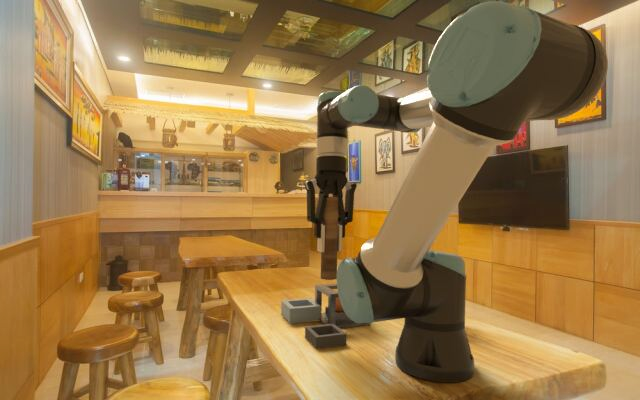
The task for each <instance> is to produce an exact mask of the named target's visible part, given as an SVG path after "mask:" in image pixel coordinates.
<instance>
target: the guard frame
mask: <svg viewBox="0 0 640 400" xmlns="http://www.w3.org/2000/svg"><path fill="white" fill-rule="evenodd" d="M314 288H315V289H314V301H315V303H317V304H319V305H320V306H321V318H319V321H318V322H320V323H321V325H326V324H335V325H336V326H337V327H338V328H340V329H345V328H346V329H347V328H353V327H362V326H363V327H364V326H371V323H368V322H367V323H355V322H354V321H352V320H350V319H349V318H348V317H347V315H346V314H345V312H336V298H338V297H339V296H338V290H337V283H327V284H326V283H325V284H315V285H314ZM335 290H336V291H335ZM323 294H324V295H325V296H327V301H328V302H327V306H325V308H324V309H325V312H322V310H323V309H322V306H323V305H322V303H323V302H322V300H323V296H322V295H323Z"/></svg>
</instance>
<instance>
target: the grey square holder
mask: <svg viewBox="0 0 640 400" xmlns="http://www.w3.org/2000/svg"><path fill="white" fill-rule="evenodd" d="M280 309H281V310H280V314H281V316H283V318H284V319H285V321H286V322H288V324H300V323H308V322H320V321H319V318H321V313H322V311H321V306H320V305H319V304H317V303H315V300H313V299H312V298H311V297H309V298H296V299H282V300H281V306H280Z"/></svg>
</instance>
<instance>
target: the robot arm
mask: <svg viewBox="0 0 640 400" xmlns="http://www.w3.org/2000/svg"><path fill="white" fill-rule="evenodd" d="M608 70H609V61H608V54H607V51H606V48H605V47H604V45H603V43H602V41H601V40H600V39H599V38H598V37H597V36H596V35H595V34H594V33H592V32H591V31H589V30H588V29H586V28H584V27H581V26H578V25H575V24H571V23H568V22H567V21H566V22H565V21H562V20H559V19H557V18H554V17H553V16H549V15H547V14H545V13H541V12H539V11H536V10H534V9H532V8H530V7H527V6H526V5H518V4H513V3H509V2H504V1H498V0H497V1H496V0H490V1H485V2H481V3H478V4H475V5H473V6H472V7H470V8H468V10H467V11H466V12H462V13H460V14H459V15H458V16H456V18H454V19H453V21H451V22H450V23H449V24H448V26H447V27H446V28H445V29H444V30H443V32H442V34H441V35H440V36H439V37H438V39H437V41H436V43H435V45H434V46H433V49H432V51H431V54H430V57H429V60H428V65H427V71H429V74H427V76H426V84H427V87H428V90H424V91H420V92H416V93H413V94H410V95H406V96H402V97H401V96H400V97H396V96H395V97H394V96H391V95H390V96H389V95H384V94H377V93H376V92H375V90H374V89H372V88H370V87H369V85H366V84H365V85H363V84H359V85H355V86H353V87H351V88H348V89H346V90H344V91H343V92H342V91H337V90H329V91H327V92H325V91H324V92H322V93H320V94H319V96H318V100H317V107H316V113H317V115H316V116H317V121H316V123H317V125H316V128H317V129H316V130H317V131H316V155H317V157H316V162H315V163H316V164H315V173H316V174H315V175H314V179H311V180H306V181H304V182H303V183H304V185H303V186H304V188H305V190H306V220H307V222H309V223H312V224H313V225H314V229H313V230H314V232H313V233H314V234H313V236H314V238H315V239H317V240H316V242H317V246H316V248H317V249H316V251H317V252H319V253H321V252H324V248H325V225H322V221H323V216H324V212H325V207H326V202H327V198H328V197H330V196H329V195H331V196H332V197H338V202H339V205H338V249H337V253H339V252H340V253H341V252H342V251H343V249H342V248H343V244H342V243H343V238H345V237H346V226H347V225H348V223H349V224H350V223H352V222H353V219H354V218H353V217H354V203H355V191H356V189H357V186H358V184H357V183H355V182H354V183H353V182H351V181H349V180H348V177H347V171H348V170H347V166H348V165H347V163H348V159H347V157H346V156H347V155H348V129H349V128H352V127H361V128H363V127H364V128H370V129H380V130H388V131H395V132H401V133H406V134H407V133H418V132H419V131H420V130H421V129H423V128H429V130H428V132H427V134H426V136H425V137H424V139H423V142H422V144H421V146H420V148H419V149H418V152H417V154H416V155H415V158H414V160H413V162H412V164H411V166H410V168H409V170H408V172H407V174H406V176H405V178H404V180H403V182H402V184H401V186H400V188H399V190H398V192H397V194H396V195H395V196H396V197H395V198H394V200H393V203H392V204H391V206H390V208H389V210H388V212H387V214H386V217H385V218H384V221H383V223H382V225H381V226H380V229H379V231H378V233H377V235H376V237H372V238H369V239H368V240H366V241H365V242H364V243H363V244H362V246H361V248H360V250H359V252H358V254H357V256H355V257H350V256H349V257H347V258H343V259H342V260H340V262H339V264H337V279H336V284H337V289H336V291H338V296H339V300H340V303H341V306H342V308H343V310H344V312H345V314H346V315H347V317H348V318H349V319H350V320H352V321H354V322H355V323H367V322H368V323H370V324H372V323H378V322H386V321H392V320H400V319H404V322H403V323H404V324H403V328H402V331H401V333H400V337H399V339H398V343H397V345H396V347H395V353H394V354H395V356H394V359H395V364H396V365H397V367H398V368H399V369H400V370H402V371H403V372H405V373H406V374H408V375H411V376H413V377H415V378H418V379H422V380H426V381H430V382H437V383H460V382H463V381H467V380H470V379H471V378H472V377H473V376H474V374H475V358H474V355H473V354H472V351H471V347H470V343H469V342H470V341H469V340H468V336H467V333H466V324H465V323H466V292H467V291H466V284H467V282H466V280H467V274H466V263H465V260H464V259H463V257H462V256H461V255H458V254H454V253H450V252H449V253H448V252H441V251H435V250H431V247H432V246H433V244H434V243H435V241H436V240H437V238H438V236H439V235H440V233H441V232H442V230H443V228H444V227H445V225H446V223H447V222H448V221H449V219H450V217H451V216H452V214H453V213H454V211H455V209H456V208H457V206H458V205H459V203H460V201H461V200H462V198H463V197H464V195H465V193H466V192H467V190H468V188H469V187H470V185H471V184H472V182H473V181H474V179H475V178H476V176H477V174H478V173H479V171H480V170H481V168H482V166H483V165H484V163H485V162H486V160H487V159H488V157H489V156H490V154H491V152H492V150H493V149H494V148H495V147H496V146H500V145H504V144H509V143H510V142H513V141H514V139H515V137H517V135H518V133H519V131H520V130H521V128H522V127H523V125H524V124H525V122H533V121H535V122H536V121H555V120H560V119H564V118H567V117H569V116H572V115H574V114H575V113H578V112H579V111H581V110H582V109H583V108H585V107H587V106H588V105H589V104H590V103H592V101H593V100H594V99H595V98H596V97H597V96H598V93H599V92H600V91H601V89H602V87H603V86H604V83H605V80H606V79H607V75H608V74H607V73H608ZM316 186H317V187H318V189H319V192H318V201H317V205H316ZM344 189H345V197H344V195H343V194H344V192H343V190H344ZM343 197H344V198H343ZM343 199H344V201H343Z"/></svg>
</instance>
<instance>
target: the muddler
mask: <svg viewBox="0 0 640 400" xmlns="http://www.w3.org/2000/svg"><path fill="white" fill-rule="evenodd" d="M338 205H339V202H338V197H333V196H328V198H327V202H326V207H325V212H324V216H323V221H322V224H321V225H325V248H324V252H320V253H321V254H320V279H321V280H325V281H326V280H327V281H330V280H331V281H333V280H334V281H335V280H337V269H338V251H337V249H338Z"/></svg>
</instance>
